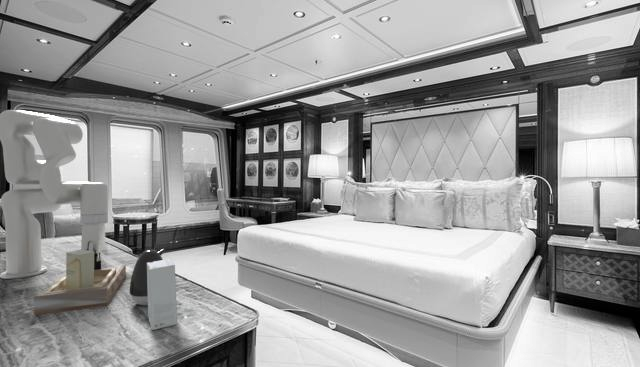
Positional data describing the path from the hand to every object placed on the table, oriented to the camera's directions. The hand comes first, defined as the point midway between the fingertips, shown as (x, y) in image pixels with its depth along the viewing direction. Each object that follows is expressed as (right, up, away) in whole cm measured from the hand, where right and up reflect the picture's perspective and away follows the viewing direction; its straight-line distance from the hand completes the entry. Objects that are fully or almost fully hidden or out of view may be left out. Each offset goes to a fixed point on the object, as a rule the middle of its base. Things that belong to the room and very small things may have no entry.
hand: (95, 272), depth 106 cm
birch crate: (+4, -3, -11) cm, 12 cm away
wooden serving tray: (+3, -4, -8) cm, 9 cm away
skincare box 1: (+6, -2, -14) cm, 15 cm away
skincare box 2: (+36, -5, -27) cm, 46 cm away
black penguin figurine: (+27, -4, -15) cm, 31 cm away
